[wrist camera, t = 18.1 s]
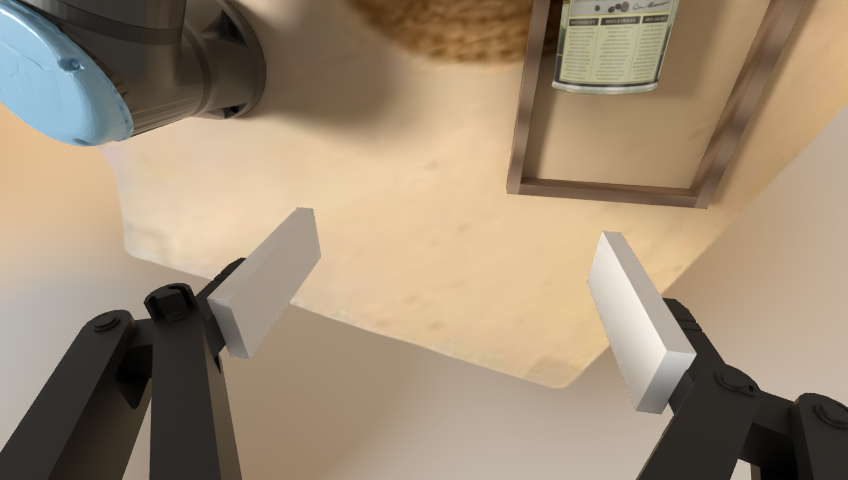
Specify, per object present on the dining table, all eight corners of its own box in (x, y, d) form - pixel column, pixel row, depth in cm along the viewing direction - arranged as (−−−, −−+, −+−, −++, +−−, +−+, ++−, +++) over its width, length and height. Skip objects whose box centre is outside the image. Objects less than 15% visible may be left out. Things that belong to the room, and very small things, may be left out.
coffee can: (534, 83, 42) (551, -75, 35) (616, 77, 43) (648, -76, 36) (583, 98, 33) (619, -109, 26) (682, 90, 35) (743, -109, 27)
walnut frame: (697, 200, 48) (706, 208, 46) (506, 186, 51) (507, 193, 49) (856, -152, 31) (884, -165, 29) (553, -141, 34) (557, -152, 32)
